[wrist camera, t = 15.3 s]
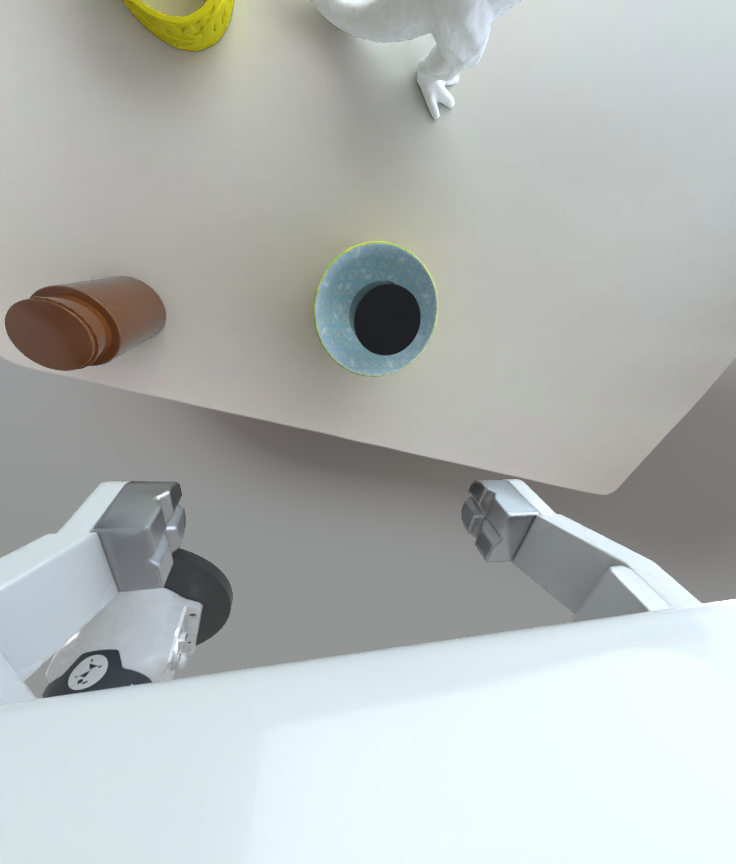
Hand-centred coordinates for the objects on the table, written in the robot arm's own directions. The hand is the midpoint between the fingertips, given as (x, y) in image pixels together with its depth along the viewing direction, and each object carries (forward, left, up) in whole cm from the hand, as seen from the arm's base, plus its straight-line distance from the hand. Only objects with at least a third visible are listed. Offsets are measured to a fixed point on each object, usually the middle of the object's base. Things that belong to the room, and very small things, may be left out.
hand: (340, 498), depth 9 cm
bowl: (+2, -6, -28) cm, 29 cm away
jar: (-1, +16, -28) cm, 32 cm away
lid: (+2, -6, -22) cm, 23 cm away
